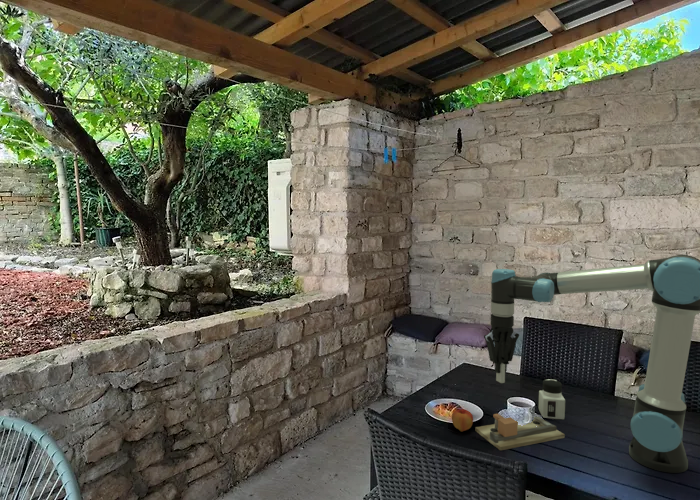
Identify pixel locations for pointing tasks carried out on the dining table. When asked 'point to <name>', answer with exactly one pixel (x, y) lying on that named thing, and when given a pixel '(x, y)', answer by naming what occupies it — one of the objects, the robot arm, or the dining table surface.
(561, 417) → the container
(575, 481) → the dining table surface
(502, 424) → the block
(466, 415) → the apple
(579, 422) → the dining table surface
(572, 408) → the dining table surface
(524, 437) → the board
